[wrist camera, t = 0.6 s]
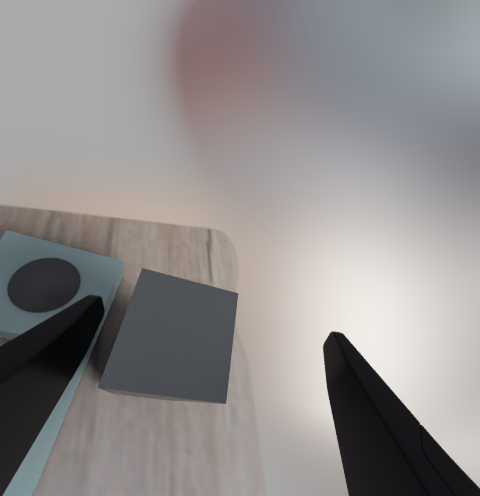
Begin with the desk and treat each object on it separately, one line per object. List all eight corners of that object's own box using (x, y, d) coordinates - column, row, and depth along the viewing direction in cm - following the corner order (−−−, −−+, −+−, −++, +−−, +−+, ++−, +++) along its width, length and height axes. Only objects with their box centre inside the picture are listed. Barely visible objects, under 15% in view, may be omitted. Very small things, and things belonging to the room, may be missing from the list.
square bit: (168, 400, 18) (225, 404, 8) (111, 393, 17) (97, 387, 7) (181, 343, 20) (238, 293, 10) (131, 334, 19) (142, 268, 9)
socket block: (28, 504, 13) (8, 528, 11) (-162, 503, 11) (-240, 533, 9) (123, 276, 21) (123, 260, 19) (21, 250, 19) (6, 229, 17)
